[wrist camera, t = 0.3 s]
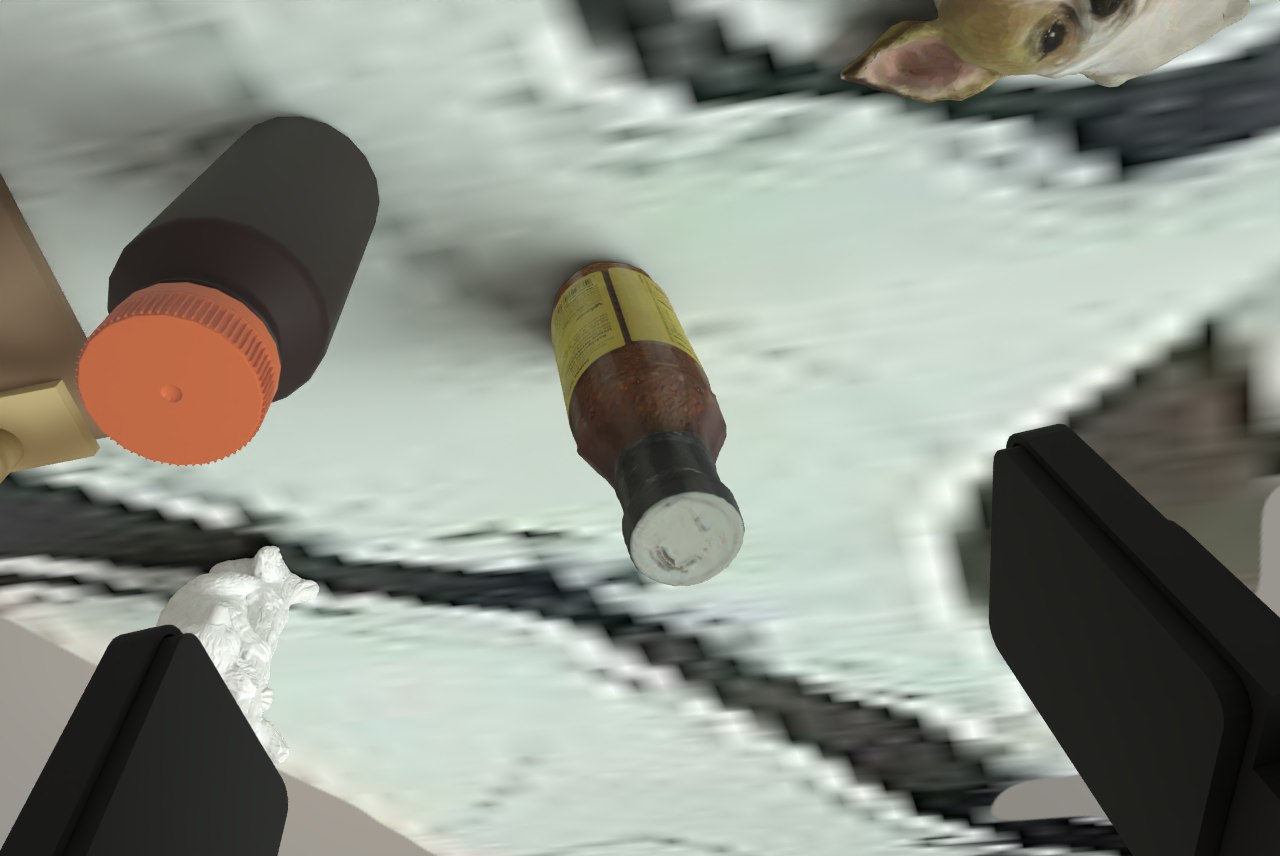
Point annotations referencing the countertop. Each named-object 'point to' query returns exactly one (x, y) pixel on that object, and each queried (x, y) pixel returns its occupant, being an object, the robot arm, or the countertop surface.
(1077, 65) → the ceramic sculpture
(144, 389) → the vinegar
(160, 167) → the countertop surface
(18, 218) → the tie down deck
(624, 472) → the sauce bottle
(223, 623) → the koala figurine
